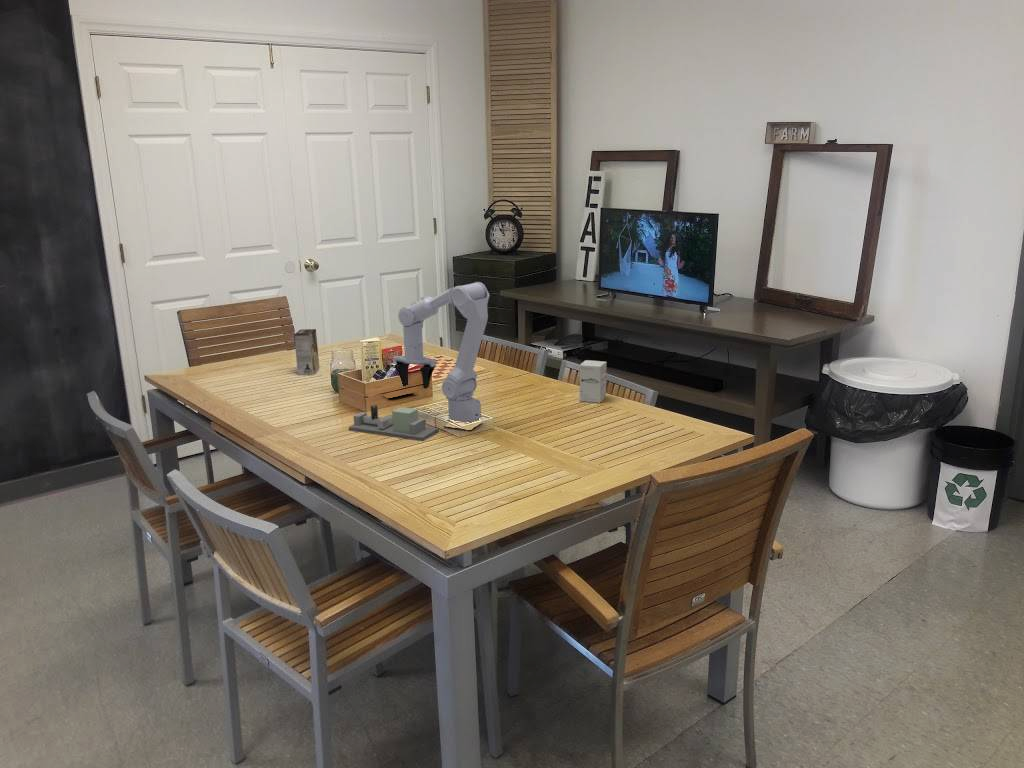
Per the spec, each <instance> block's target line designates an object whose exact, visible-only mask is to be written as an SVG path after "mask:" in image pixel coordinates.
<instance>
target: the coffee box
mask: <svg viewBox="0 0 1024 768" xmlns="http://www.w3.org/2000/svg"><path fill="white" fill-rule="evenodd" d="M293 337H294V338H293V339H294V348H295V358H296V368H297V369H296V370H297V375H298V376H307V375H306V374H314V375H315V374H316V373H317V372H318V371H319V370H320V369H319V368H320V360H319V359H320V358H319V347H318V337H317V329H316V328H314V329H313V328H311V329H309V328H308V329H306V328H305V329H299V330H297V332H296V333H294V334H293ZM318 369H319V370H318Z"/></svg>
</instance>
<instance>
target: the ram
mask: <svg viewBox="0 0 1024 768" xmlns="http://www.w3.org/2000/svg"><path fill="white" fill-rule="evenodd" d="M362 423H369V424H376V425H378V428H379V429H385V428H387V427H388V426H390V425H392V424H393V416H392V414H387V415H386V416H384V417H381V416H379V412H378V405H376V404H374V405H370V415H368V414H367V415H365V416H363V417H362Z"/></svg>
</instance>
